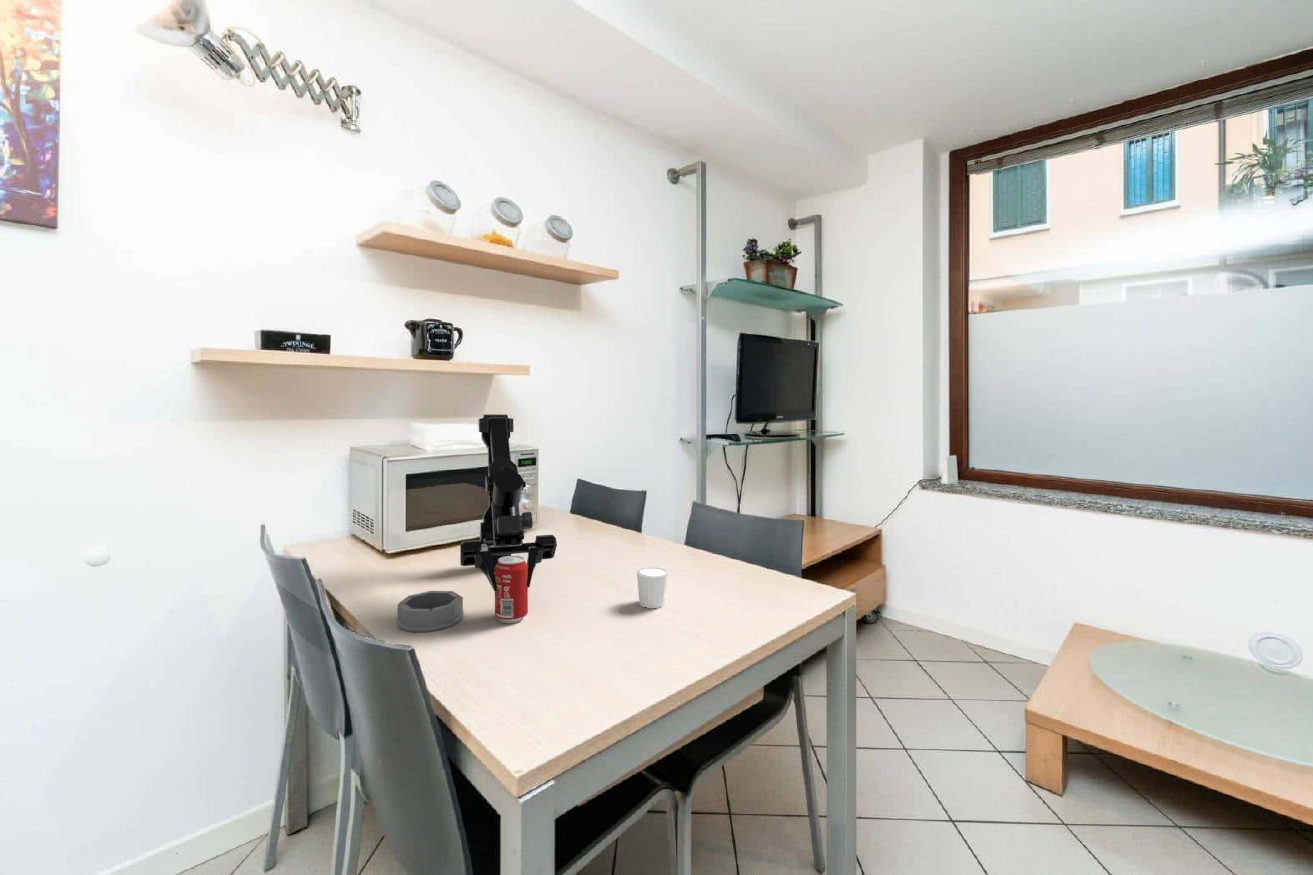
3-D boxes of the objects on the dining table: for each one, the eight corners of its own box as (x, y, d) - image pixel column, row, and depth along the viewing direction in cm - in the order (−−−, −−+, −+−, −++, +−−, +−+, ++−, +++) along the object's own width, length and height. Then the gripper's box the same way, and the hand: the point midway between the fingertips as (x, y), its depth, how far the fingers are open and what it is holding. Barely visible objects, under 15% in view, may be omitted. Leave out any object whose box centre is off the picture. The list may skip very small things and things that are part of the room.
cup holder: (447, 603, 117) (447, 585, 117) (474, 620, 108) (473, 601, 108) (387, 618, 109) (387, 599, 108) (411, 638, 100) (411, 617, 100)
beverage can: (533, 614, 111) (533, 556, 111) (516, 626, 106) (515, 565, 105) (507, 610, 114) (506, 553, 113) (488, 622, 108) (487, 561, 107)
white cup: (635, 598, 122) (636, 567, 121) (666, 597, 122) (667, 566, 122) (637, 610, 115) (637, 577, 114) (670, 609, 115) (670, 576, 115)
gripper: (459, 500, 108) (461, 572, 99) (555, 496, 115) (565, 563, 105) (459, 531, 116) (461, 600, 107) (549, 525, 123) (557, 590, 113)
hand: (512, 588), depth 108 cm, fingers closed on beverage can, 6 cm apart
